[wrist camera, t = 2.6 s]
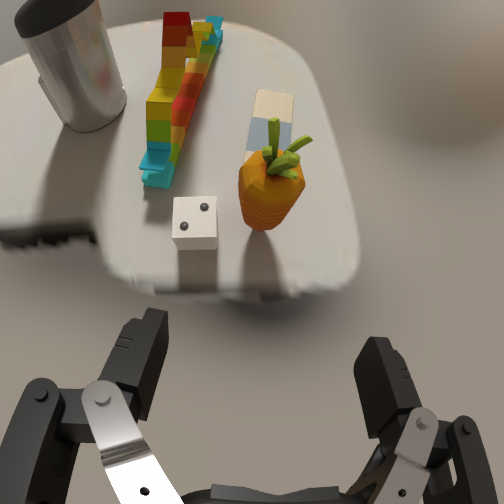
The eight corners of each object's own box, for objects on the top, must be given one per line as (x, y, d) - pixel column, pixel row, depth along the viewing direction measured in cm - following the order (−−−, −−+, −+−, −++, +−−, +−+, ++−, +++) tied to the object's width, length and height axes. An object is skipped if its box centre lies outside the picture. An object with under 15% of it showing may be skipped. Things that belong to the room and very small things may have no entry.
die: (178, 250, 30) (171, 237, 26) (179, 213, 31) (173, 196, 27) (217, 249, 30) (216, 236, 26) (217, 212, 31) (216, 195, 27)
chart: (203, 37, 40) (203, -36, 25) (222, 38, 40) (226, -35, 26) (143, 186, 31) (100, 94, 17) (170, 190, 32) (139, 94, 17)
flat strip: (238, 192, 32) (238, 191, 32) (257, 90, 36) (257, 88, 36) (284, 199, 32) (284, 198, 32) (293, 96, 37) (293, 95, 36)
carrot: (239, 199, 32) (252, 101, 17) (284, 210, 32) (327, 120, 17) (228, 242, 30) (233, 161, 16) (276, 253, 30) (320, 183, 16)
